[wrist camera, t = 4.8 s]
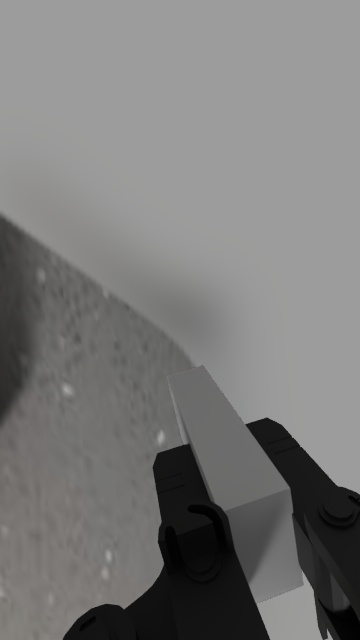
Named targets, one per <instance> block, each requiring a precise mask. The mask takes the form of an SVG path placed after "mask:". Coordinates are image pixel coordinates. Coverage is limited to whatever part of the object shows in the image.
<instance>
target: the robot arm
mask: <svg viewBox="0 0 360 640" xmlns="http://www.w3.org/2000/svg"><path fill="white" fill-rule="evenodd" d="M167 380H168V384H169V388H170V392H171V396H172V400H173V405H174V409H175V413H176V417H177V421H178V425H179V429H180V433H181V437H182V440H183V442H184V445H182V446H179V447H176V448H172V449H169V450H166V451H163V452H160V453H157V456H156V459H155V462H154V465H153V472H154V478H155V483H156V490H157V495H158V502H159V508H160V514H161V520H162V523H161V525H160V527H159V534H158V544H159V547H160V550H161V554H162V557H163V560H164V566H163V569H162V571H161V573H160V575H159V577H158V578H157V580H156V581H155V583H154V584H153V586H151V587H150V588H149V589H148V590H147V591H146V592H145V593H144V594H143V595H142V596H141V597H139V598H138V599H137V600H136V601H134V602H133V603H132V604H131V605H129V606H128V607H127V608H126V609H123V608H122V607H120V606H119V605H112V604H104V605H101V606H98V607H95V608H92V609H90V610H89V611H88V612H86V613H85V614H84V615H82V616H81V617H80V618H78V619H77V620H76V622H75V623H74V624H73V625H72V627H71V628H70V629H69V631H68V632H67V633H66V634H65V636H64V638H63V640H270V638H269V636H268V633H267V630H266V628H265V625H264V623H263V620H262V618H261V615H260V613H259V610H258V607H257V605H256V604H258V603H260V602H263V601H265V600H268V599H270V598H273V597H275V596H278V595H281V594H283V593H285V592H288V591H291V590H293V589H295V588H298V587H301V586H303V577H302V571H303V572H304V574H305V576H306V577H307V579H308V581H309V583H310V585H311V586H312V588H313V590H314V597H315V605H316V613H317V620H318V627H319V630H320V633H321V636H322V639H323V640H325V639H327V638H328V636H327V629H328V631H329V633H330V635H331V636H332V638H333V640H360V495H359V494H358V493H356V492H354V491H352V490H349V489H347V488H344V487H338V486H337V485H336V484H335V483H334V482H333V481H332V480H331V479H330V478H329V477H328V476H327V474H325V472H324V471H323V470H322V469H321V468H320V467H319V466H318V465H317V463H316V462H315V461H314V460H313V459H312V458H311V457H310V456H309V455H308V454H307V452H306V451H305V450H304V449H303V448H302V447H300V445H299V444H298V442H297V441H296V440H295V439H294V438H292V436H291V435H290V434H289V433H288V431H287V430H286V429H285V428H284V427H283V426H282V425H281V424H279V423H277V422H275V421H273V420H271V419H269V418H264V419H261V420H258V421H255V422H251V423H248V424H244V422H243V421H242V419H241V418H240V417H239V415H238V414H237V412H236V411H235V410H234V409H233V407H232V405H231V404H230V402H229V401H228V400H227V398H226V397H225V396H224V394H223V393H222V391H221V390H220V388H219V387H218V386H217V384H216V383H215V381H214V380H213V379H212V377H211V376H210V374H209V373H208V372H207V370H206V369H205V367H204V366H203V365H202V366H199V367H195V368H192V369H188V370H184V371H181V372H177V373H174V374H170V375H167ZM301 569H302V570H301Z"/></svg>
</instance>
